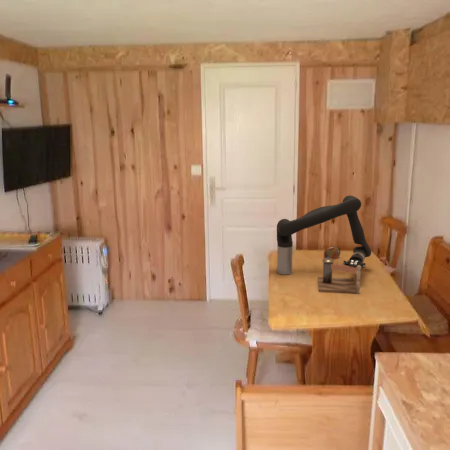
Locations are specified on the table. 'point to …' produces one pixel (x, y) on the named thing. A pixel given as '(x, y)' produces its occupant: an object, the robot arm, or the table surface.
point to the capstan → (328, 267)
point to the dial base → (341, 284)
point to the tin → (332, 252)
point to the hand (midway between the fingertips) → (351, 269)
